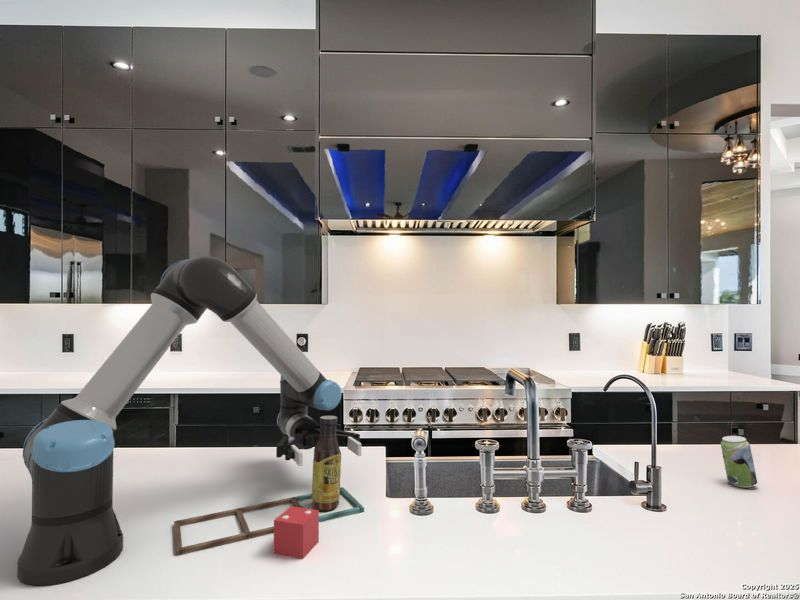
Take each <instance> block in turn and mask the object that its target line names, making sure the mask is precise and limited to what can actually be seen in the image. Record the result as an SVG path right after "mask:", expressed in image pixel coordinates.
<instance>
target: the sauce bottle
mask: <svg viewBox="0 0 800 600" xmlns="http://www.w3.org/2000/svg"><path fill="white" fill-rule="evenodd" d="M338 421H339V420H338V416H336V415H322V416H320V417H319V425H320V439H319V440H318V442H317V443H316V445H315V447H313V448H314V450H313V460H312V481H311V482H312V484H311V493H312V499H311V500H312V502H311V505H312V506H311V507H312V509H314V510H319V511H331V510H335V508H337V507H338V506H339V504H340V499H341V497H340V495H341V493H340V488H341V470H342V468H341V467H342V463H341V462H342V452H341V449H340V446H339V445H338V441H337V434H336V429H338V426H337V425H338Z"/></svg>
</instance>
